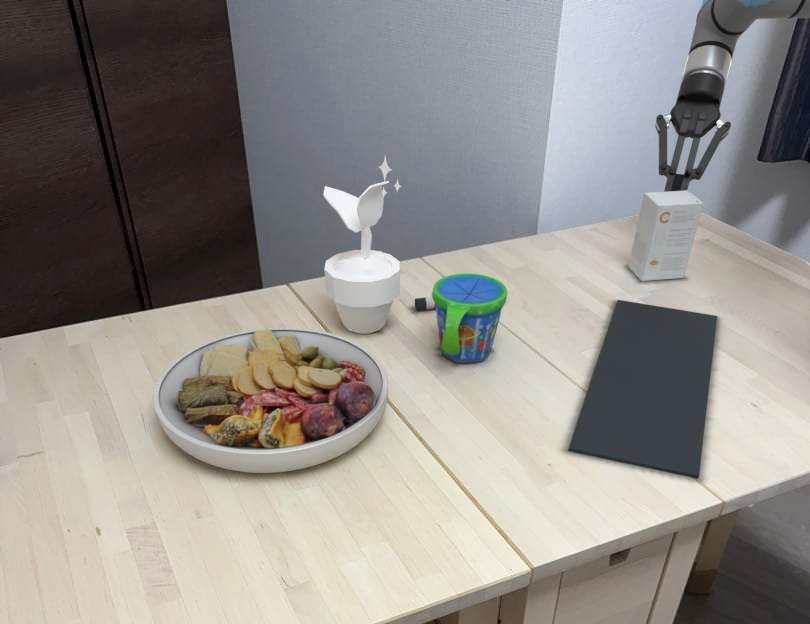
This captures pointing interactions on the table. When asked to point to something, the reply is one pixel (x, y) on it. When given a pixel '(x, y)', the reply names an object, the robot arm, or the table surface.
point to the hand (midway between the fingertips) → (669, 213)
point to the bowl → (271, 399)
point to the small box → (665, 234)
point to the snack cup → (468, 315)
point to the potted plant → (362, 262)
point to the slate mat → (649, 390)
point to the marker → (424, 303)
